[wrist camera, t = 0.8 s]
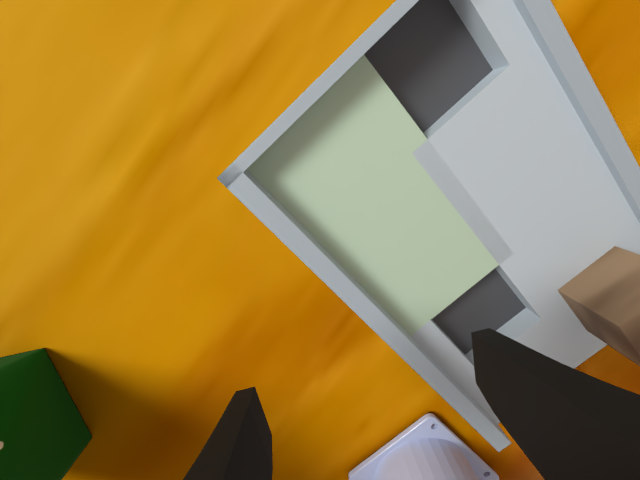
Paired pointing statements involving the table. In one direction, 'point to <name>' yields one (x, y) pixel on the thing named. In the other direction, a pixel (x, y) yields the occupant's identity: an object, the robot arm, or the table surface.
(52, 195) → the table surface
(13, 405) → the milk carton
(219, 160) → the table surface
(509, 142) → the tray
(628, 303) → the walnut block
